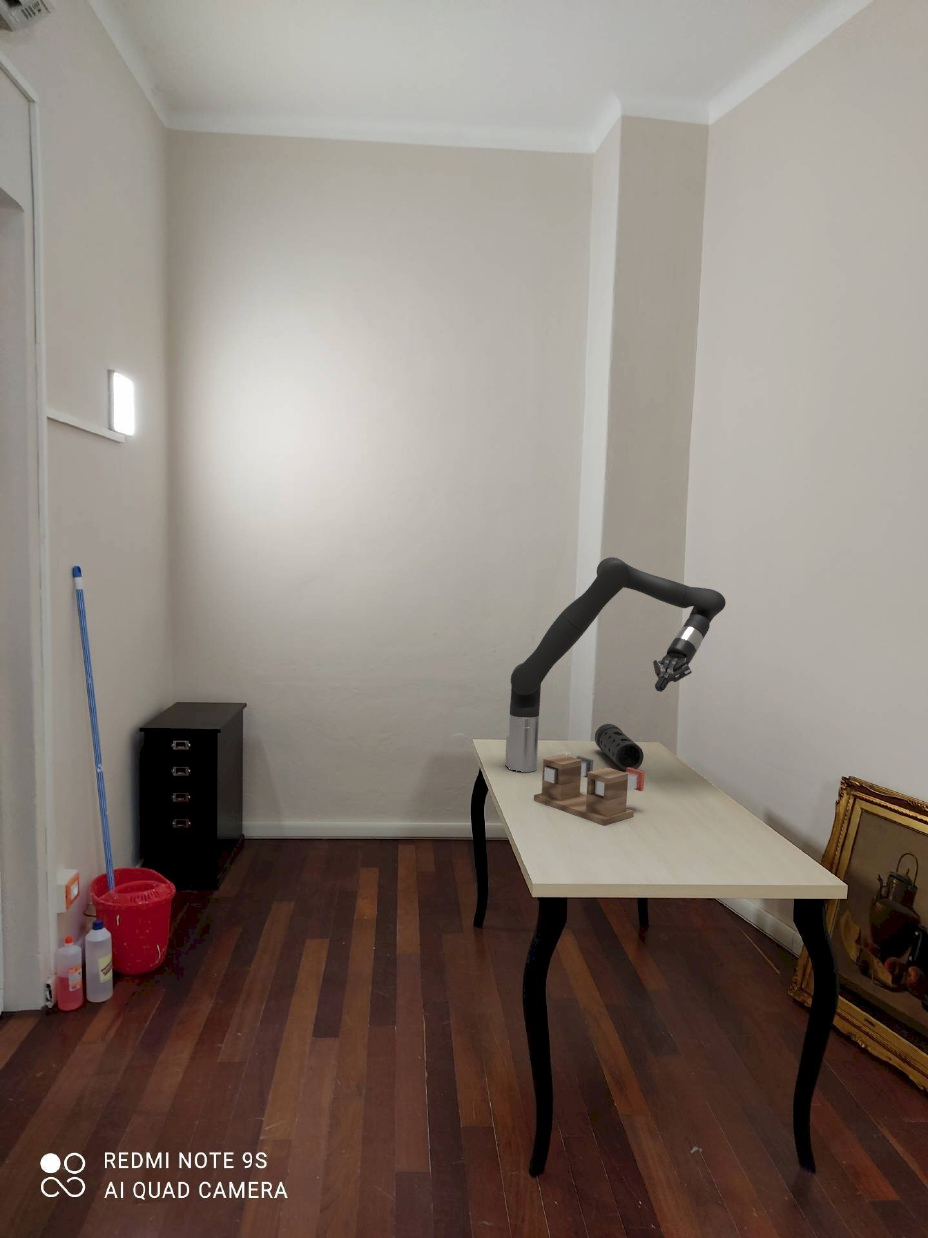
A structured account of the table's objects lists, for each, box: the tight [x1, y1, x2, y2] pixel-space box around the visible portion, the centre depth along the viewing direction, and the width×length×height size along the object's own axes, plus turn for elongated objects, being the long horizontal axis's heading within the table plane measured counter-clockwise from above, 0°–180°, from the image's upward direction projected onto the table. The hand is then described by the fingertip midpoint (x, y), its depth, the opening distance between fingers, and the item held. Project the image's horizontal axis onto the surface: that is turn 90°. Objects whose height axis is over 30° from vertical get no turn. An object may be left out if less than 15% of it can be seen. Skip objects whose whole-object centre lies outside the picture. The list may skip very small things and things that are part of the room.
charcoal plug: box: [544, 755, 594, 783], centre depth 236 cm, size 5×15×5 cm, turn 131°
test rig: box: [533, 754, 635, 826], centre depth 228 cm, size 25×12×12 cm, turn 41°
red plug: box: [595, 768, 646, 796], centre depth 225 cm, size 5×15×5 cm, turn 131°
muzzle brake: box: [594, 723, 645, 772], centre depth 277 cm, size 10×28×10 cm, turn 5°
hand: (658, 689), depth 245 cm, fingers closed
